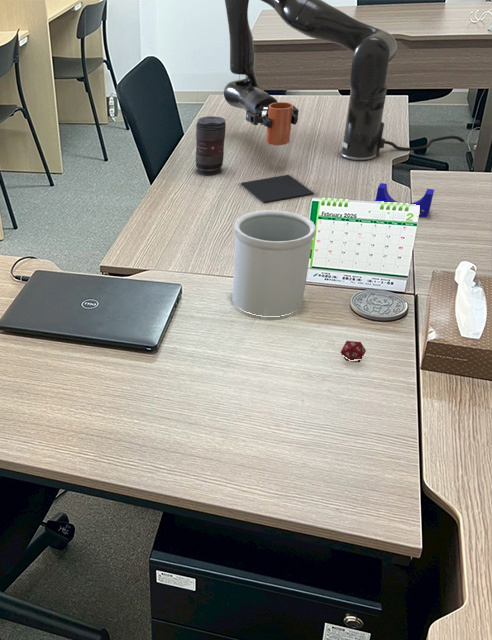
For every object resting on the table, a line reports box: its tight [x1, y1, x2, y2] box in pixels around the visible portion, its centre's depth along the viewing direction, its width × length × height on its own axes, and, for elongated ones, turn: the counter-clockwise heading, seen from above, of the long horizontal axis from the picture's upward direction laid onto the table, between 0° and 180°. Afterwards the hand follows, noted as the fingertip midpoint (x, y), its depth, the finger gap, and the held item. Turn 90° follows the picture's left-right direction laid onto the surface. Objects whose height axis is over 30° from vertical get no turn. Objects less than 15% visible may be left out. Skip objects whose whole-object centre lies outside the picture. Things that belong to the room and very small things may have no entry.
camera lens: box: [195, 115, 227, 176], centre depth 202 cm, size 8×8×15 cm
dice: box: [340, 340, 367, 363], centre depth 125 cm, size 4×4×4 cm
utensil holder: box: [232, 209, 317, 321], centre depth 140 cm, size 15×15×18 cm
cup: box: [265, 101, 294, 146], centre depth 195 cm, size 6×6×10 cm
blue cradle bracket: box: [374, 182, 435, 219], centre depth 171 cm, size 12×4×6 cm, turn 58°
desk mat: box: [240, 174, 315, 204], centre depth 191 cm, size 14×14×1 cm
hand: (283, 122), depth 192 cm, fingers closed on cup, 6 cm apart
